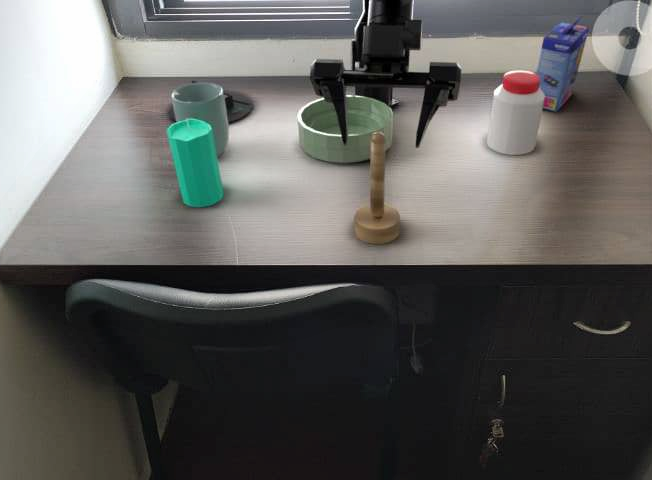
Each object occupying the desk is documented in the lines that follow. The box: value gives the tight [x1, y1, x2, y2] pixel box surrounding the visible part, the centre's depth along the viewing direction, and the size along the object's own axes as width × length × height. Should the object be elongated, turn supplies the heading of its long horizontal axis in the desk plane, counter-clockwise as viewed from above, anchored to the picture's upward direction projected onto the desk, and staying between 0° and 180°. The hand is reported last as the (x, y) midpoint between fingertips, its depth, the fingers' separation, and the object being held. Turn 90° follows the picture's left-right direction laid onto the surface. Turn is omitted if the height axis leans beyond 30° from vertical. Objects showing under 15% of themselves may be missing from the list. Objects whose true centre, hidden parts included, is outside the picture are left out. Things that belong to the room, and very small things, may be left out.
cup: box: [171, 82, 230, 157], centre depth 95 cm, size 8×8×10 cm
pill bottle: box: [486, 69, 545, 156], centre depth 95 cm, size 8×8×11 cm
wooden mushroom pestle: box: [353, 132, 401, 245], centre depth 76 cm, size 6×6×14 cm
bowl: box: [296, 94, 394, 164], centre depth 98 cm, size 15×15×5 cm
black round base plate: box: [169, 80, 254, 125], centre depth 109 cm, size 15×15×6 cm
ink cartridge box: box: [535, 15, 590, 113], centre depth 106 cm, size 10×6×14 cm, turn 148°
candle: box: [166, 118, 225, 208], centre depth 84 cm, size 6×6×12 cm
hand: (380, 145), depth 76 cm, fingers open, 9 cm apart
